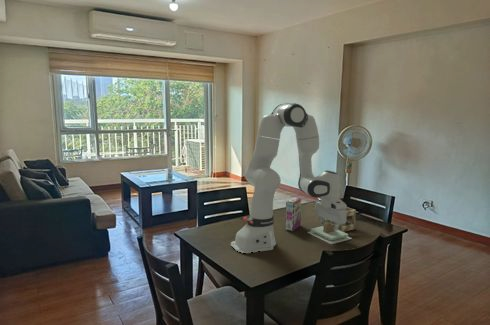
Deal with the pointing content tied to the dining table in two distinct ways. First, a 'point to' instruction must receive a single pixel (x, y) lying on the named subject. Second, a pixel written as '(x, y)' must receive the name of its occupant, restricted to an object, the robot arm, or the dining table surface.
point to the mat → (328, 239)
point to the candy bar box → (293, 214)
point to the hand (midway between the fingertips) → (329, 227)
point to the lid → (329, 232)
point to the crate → (348, 224)
